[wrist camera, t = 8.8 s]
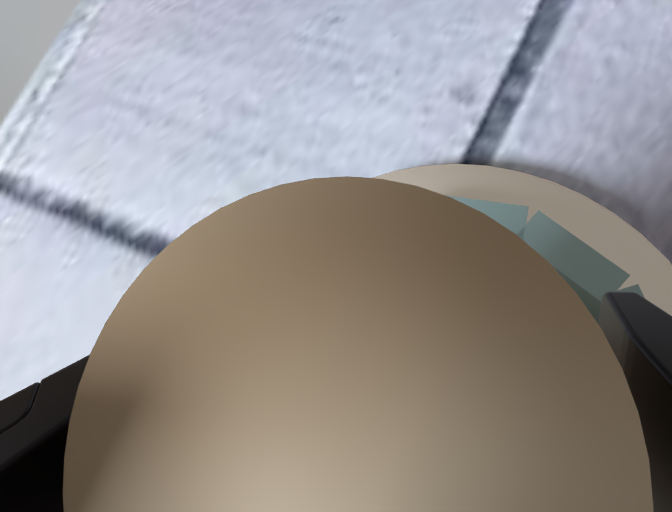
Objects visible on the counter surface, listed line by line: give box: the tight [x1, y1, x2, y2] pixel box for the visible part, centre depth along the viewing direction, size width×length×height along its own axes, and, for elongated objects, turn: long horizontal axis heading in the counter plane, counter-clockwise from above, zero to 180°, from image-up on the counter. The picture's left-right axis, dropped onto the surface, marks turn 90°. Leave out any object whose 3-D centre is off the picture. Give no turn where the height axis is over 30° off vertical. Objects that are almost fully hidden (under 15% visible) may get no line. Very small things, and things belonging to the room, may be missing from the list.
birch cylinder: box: [63, 177, 653, 512], centre depth 10 cm, size 4×4×12 cm
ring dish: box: [374, 164, 672, 324], centre depth 15 cm, size 15×15×2 cm
